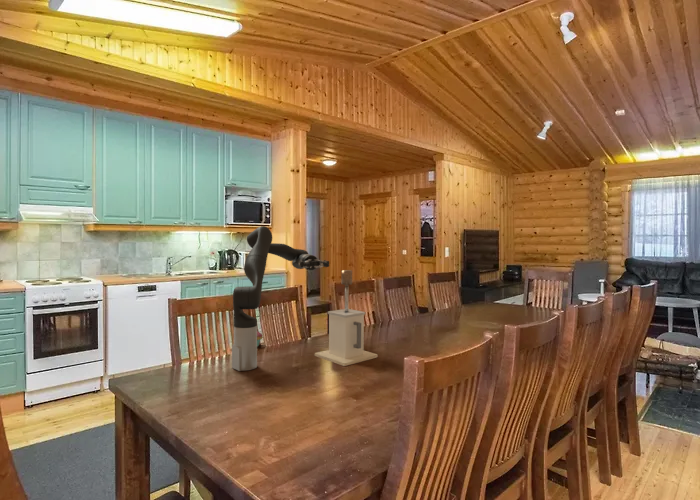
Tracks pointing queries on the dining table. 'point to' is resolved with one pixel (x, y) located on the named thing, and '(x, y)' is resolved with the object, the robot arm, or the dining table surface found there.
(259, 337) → the cupcake
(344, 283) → the plunger
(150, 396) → the dining table surface
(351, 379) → the dining table surface
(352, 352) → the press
